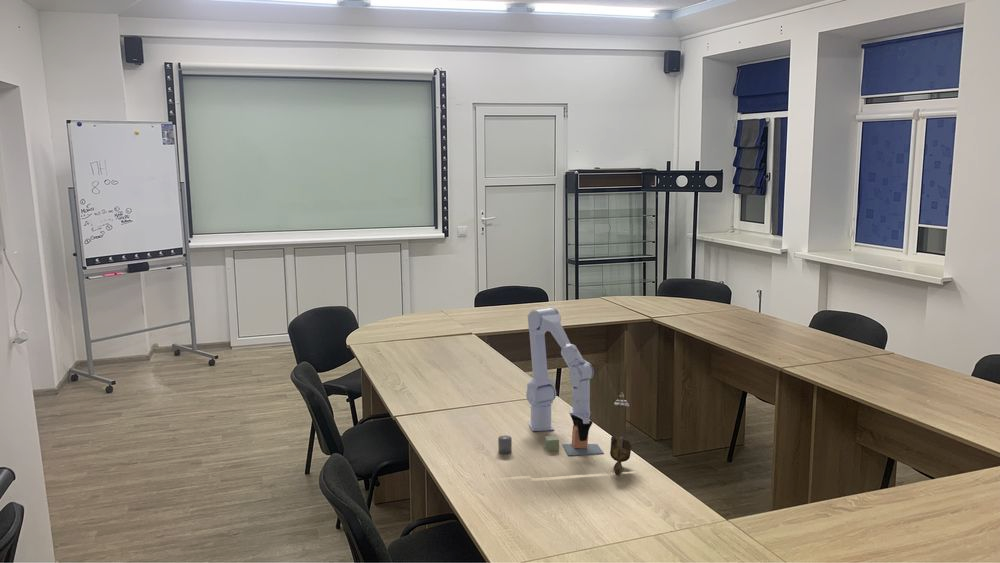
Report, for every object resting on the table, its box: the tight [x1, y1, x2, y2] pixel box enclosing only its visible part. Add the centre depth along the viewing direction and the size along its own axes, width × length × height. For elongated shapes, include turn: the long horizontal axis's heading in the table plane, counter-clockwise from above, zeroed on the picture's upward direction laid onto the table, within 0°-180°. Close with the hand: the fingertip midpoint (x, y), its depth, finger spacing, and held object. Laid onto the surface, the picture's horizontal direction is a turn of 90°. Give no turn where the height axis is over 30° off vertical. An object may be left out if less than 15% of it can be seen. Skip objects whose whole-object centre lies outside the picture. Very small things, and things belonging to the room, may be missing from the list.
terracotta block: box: [571, 424, 589, 448], centre depth 248 cm, size 4×4×6 cm
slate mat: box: [561, 443, 605, 457], centre depth 249 cm, size 14×12×1 cm
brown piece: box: [609, 436, 632, 477], centre depth 229 cm, size 7×13×10 cm, turn 2°
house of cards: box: [614, 392, 630, 407], centre depth 289 cm, size 9×9×8 cm
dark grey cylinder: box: [497, 434, 513, 455], centre depth 245 cm, size 4×4×5 cm
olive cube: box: [544, 435, 560, 452], centre depth 247 cm, size 4×4×4 cm
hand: (580, 437), depth 249 cm, fingers open, 5 cm apart
